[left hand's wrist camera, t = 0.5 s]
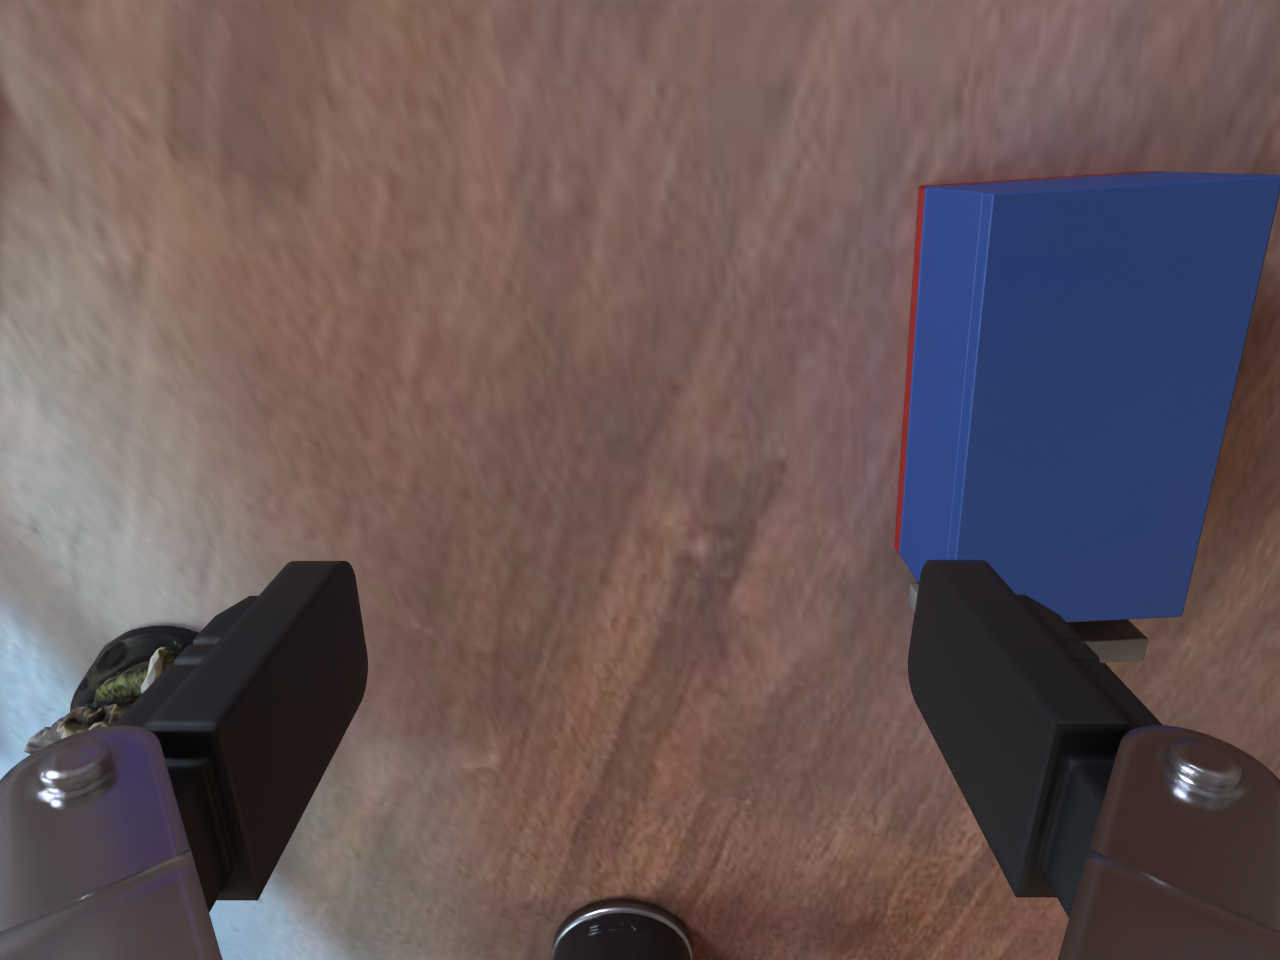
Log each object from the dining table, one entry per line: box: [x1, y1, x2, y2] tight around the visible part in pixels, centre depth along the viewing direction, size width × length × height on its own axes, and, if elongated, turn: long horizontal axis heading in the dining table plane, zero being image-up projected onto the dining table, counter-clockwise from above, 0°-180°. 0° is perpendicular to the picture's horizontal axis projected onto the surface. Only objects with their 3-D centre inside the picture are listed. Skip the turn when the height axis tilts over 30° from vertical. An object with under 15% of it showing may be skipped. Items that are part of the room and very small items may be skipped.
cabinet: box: [894, 171, 1280, 622], centre depth 35 cm, size 18×10×8 cm, turn 3°
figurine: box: [24, 626, 199, 754], centre depth 39 cm, size 12×11×15 cm
